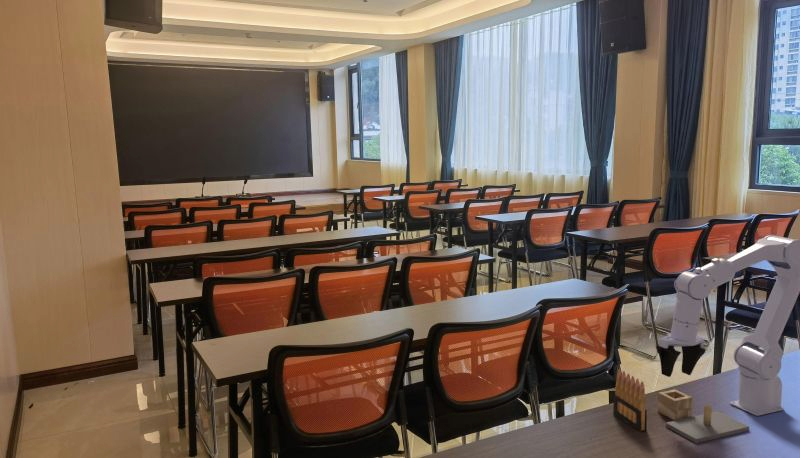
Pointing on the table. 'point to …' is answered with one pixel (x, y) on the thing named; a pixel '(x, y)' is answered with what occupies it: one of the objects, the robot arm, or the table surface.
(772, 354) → the robot arm
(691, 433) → the grey peg stand
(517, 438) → the table surface
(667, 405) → the bead
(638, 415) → the ammunition clip
